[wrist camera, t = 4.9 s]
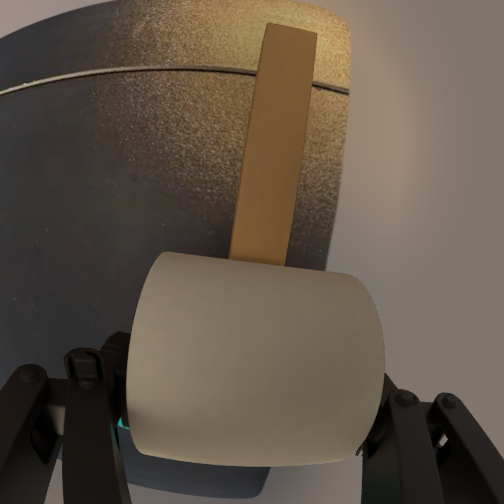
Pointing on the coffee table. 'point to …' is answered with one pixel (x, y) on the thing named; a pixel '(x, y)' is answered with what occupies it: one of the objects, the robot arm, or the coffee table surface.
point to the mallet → (257, 315)
